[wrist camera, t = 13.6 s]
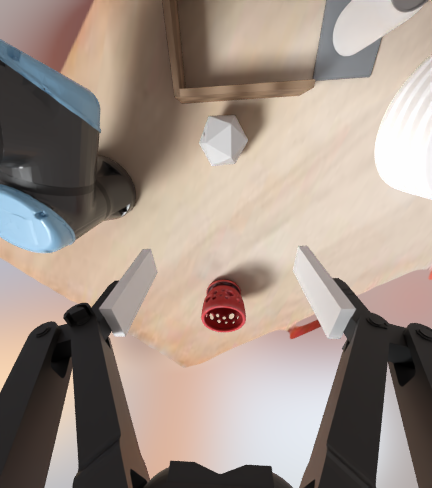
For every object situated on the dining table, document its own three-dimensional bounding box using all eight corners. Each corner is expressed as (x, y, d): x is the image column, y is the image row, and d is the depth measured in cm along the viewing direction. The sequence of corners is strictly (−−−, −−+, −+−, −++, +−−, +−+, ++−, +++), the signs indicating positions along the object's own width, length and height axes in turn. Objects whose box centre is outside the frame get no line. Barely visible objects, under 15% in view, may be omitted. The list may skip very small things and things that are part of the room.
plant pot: (197, 284, 61) (192, 314, 51) (231, 270, 57) (233, 299, 47) (216, 307, 67) (215, 338, 56) (248, 296, 63) (253, 327, 53)
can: (352, 65, 32) (414, 29, 21) (322, 45, 31) (373, -2, 20) (383, 13, 28) (473, -57, 18) (351, -10, 27) (427, -100, 17)
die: (232, 106, 36) (198, 101, 30) (263, 134, 35) (233, 136, 28) (215, 145, 43) (184, 148, 36) (240, 170, 41) (212, 178, 35)
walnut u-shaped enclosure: (182, 103, 36) (174, 97, 30) (167, -27, 28) (153, -68, 22) (299, 95, 34) (313, 87, 29) (320, -44, 26) (345, -93, 21)
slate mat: (312, 81, 33) (313, 80, 33) (330, -23, 27) (332, -26, 27) (368, 77, 33) (370, 76, 32) (399, -31, 27) (402, -33, 26)
